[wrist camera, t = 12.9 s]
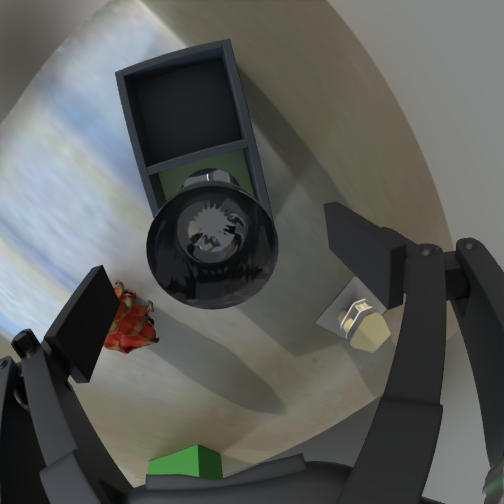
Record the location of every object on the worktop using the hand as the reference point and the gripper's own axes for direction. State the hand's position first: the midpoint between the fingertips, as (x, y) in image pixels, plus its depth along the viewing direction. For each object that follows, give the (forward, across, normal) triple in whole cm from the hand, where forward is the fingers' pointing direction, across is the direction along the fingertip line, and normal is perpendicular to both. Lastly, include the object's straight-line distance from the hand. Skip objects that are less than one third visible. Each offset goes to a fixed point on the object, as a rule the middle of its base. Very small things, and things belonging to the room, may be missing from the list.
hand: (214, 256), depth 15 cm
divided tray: (+17, 0, +5) cm, 18 cm away
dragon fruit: (+17, -15, -10) cm, 25 cm away
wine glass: (+16, 0, 0) cm, 16 cm away
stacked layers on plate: (+17, +16, -22) cm, 32 cm away
